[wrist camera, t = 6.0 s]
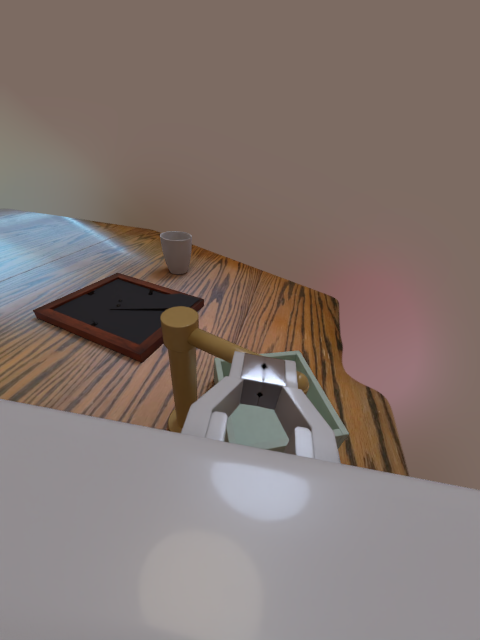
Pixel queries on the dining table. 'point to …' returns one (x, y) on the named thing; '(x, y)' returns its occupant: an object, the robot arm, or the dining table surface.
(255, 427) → the sink
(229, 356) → the spout
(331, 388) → the dining table surface
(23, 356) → the dining table surface
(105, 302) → the picture frame
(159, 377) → the dining table surface
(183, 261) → the cup
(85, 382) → the dining table surface
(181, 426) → the faucet base
